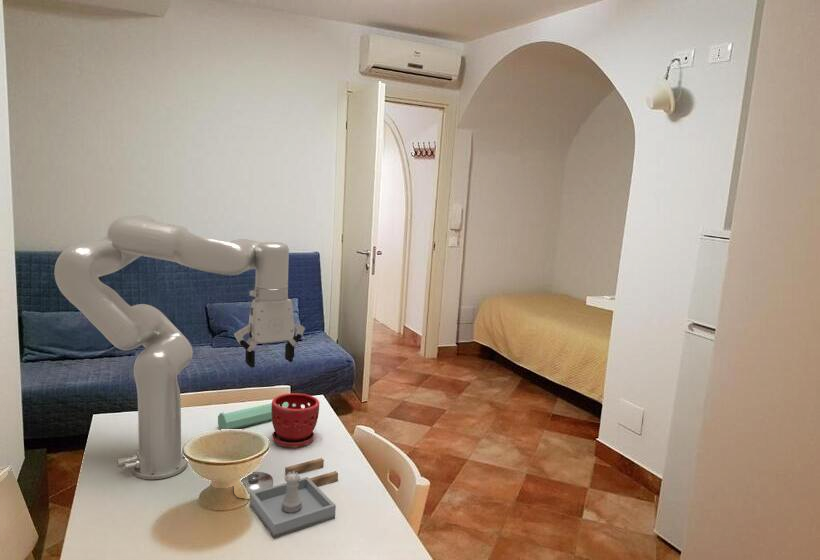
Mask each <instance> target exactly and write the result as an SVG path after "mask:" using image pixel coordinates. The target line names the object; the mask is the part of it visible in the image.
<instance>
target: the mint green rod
mask: <svg viewBox="0 0 820 560" xmlns="http://www.w3.org/2000/svg"><path fill="white" fill-rule="evenodd" d="M288 405H289V404H288V402H284V403H283V404H282V407H284V408H287V407H288ZM279 406H280V404H279ZM292 406H293V407H295V406H296V404H293V405H292ZM271 408H272V402H270V403H266V404H263V405H258V406H253V407H249V408H244V409H240V410H236V411H235V410H234V411H231V412H227V413H225V412H224V411H223V412H220V413H219V414H218V416H217V426H218V428H219V430H220V431H221V429H234V430H237V429H241V428H245V427H249V426H253V425H258V424H262V423H266V422H269V421H272V414H271Z"/></svg>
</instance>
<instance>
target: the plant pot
mask: <svg viewBox="0 0 820 560" xmlns="http://www.w3.org/2000/svg"><path fill="white" fill-rule="evenodd" d="M284 402H288V404H289V405H288V407H287V408H284V407H282V404H283V403H284ZM271 403H272V408H271V414H272V420H271V421H272V426H273V430H274V431H273V432H272V433H271V434H272V435H271V439H272V440H273V441H274V443H276V444H277V445H279V446H282V447H286V448H300V447H303V446H306V445H308V444H309V443H311V442H312V441H313V440H314V437H315V433H314V430H315V428H316V427H317V423H318V419H319V414H320V412H319V411H320V400H319V399H318V398H316V397H315V396H312V395H309V394H306V393H297V392H295V393H284V394H279V395H277V396H275V397H274V398H273V399H272V401H271ZM279 404H280V406H279ZM293 404H296V406H295V407H293V406H292V405H293ZM302 405H303V406H304V408H303V407H302Z"/></svg>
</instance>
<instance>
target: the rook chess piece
mask: <svg viewBox="0 0 820 560" xmlns="http://www.w3.org/2000/svg"><path fill="white" fill-rule="evenodd" d="M300 479H301V477H300V475H299V474H298V473H297V472H296V474H295V472H293V473H292V474H291V472H289V473H288V474H287V476H286V475H285V478H284V481H285V483H287V484H286V487H287V490H286V495H285V497H284V499H283V501H282V509H283V510H284V511H285V512H287V513H294V512H297V511H299V510H300V509H301V507H302V504H301V503H302V500H301V498H300V496H299V494H298V486H299V484H298V481H299V480H300Z"/></svg>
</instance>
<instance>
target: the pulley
mask: <svg viewBox="0 0 820 560" xmlns="http://www.w3.org/2000/svg"><path fill="white" fill-rule="evenodd" d="M252 472H253V473H252V474H250V475H248V476H247V477H245V478H243V479H242V480H241V482H242V483H243V485H244V486H245V488H246V490H247V492H248V494H250V493H251V492H255V491H258V490H262V489H266V488H269V487H273V486H274V478H273V476H272V475H271V474H269V473H267V472H264V471H252Z"/></svg>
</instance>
